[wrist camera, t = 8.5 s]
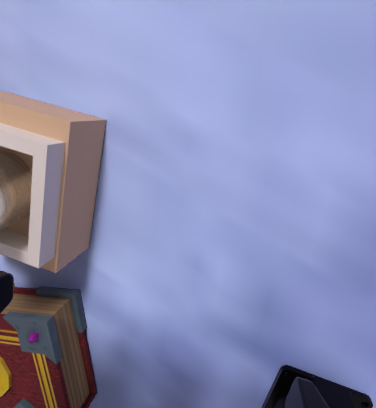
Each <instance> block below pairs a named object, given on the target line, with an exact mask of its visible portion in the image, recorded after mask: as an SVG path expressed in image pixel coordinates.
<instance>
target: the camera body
mask: <svg viewBox="0 0 376 408" xmlns="http://www.w3.org/2000/svg"><path fill="white" fill-rule="evenodd" d="M105 126H106V120H105V119H101V118H97V117H94V116H90V115H87V114H83V113H80V112H76V111H73V110H69V109H65V108H62V107H58V106H55V105H51V104H48V103H44V102H40V101H37V100H33V99H30V98H26V97H23V96H19V95H16V94H12V93H8V92H5V91H0V150H6V151H9V152H12V153H14V154H15V155H17V156H18V157H20V158H21V159H22V160H23V161H24V162H25V163H26V164H27V165H28V167H29V168H30V169H31V171H32V186H31V204H30V216H29V217H28V218H26V219H24V220H22V221H20V222H18V223H15V224H13V225H11V226H9V227H6V228H4V229H2V230H0V254H2V255H4V256H7V257H10V258H12V259H15V260H18V261H20V262H23V263H26V264H28V265H31V266H34V267H36V268H43V269H46V270H48V271H51V272H54V273H57V272H58V271H60V270H61V269H62V268H64V267H65V266H66V265H67V264H69V263H70V262H71V261H72V260H74V259H75V258H76V257H78V256H79V255H80V254H81V253H83V252H84V251H85V250H86V249H88V248H89V242H90V235H91V228H92V221H93V213H94V206H95V199H96V191H97V184H98V177H99V169H100V162H101V155H102V147H103V140H104V133H105Z"/></svg>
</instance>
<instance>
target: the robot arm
mask: <svg viewBox="0 0 376 408" xmlns="http://www.w3.org/2000/svg"><path fill="white" fill-rule="evenodd" d="M13 291H14V278H13V275H11V274H10V273H7V272H4V271H0V313H1V312H2V311H3V310H4V309H5V308H6V307H7V306H8V305H9V304H10V302H11V301H12V299H13ZM286 372H288V373H286ZM372 407H373V404H372V401H371V398H370V397H369V396H368V395H366V394H363V393H361V392H358V391H355V390H353V389H350V388H347V387H345V386H342V385H339V384H337V383H334V382H331V381H329V380H326V379H323V378H321V377H318V376H315V375H313V374H310V373H307V372H305V371H302V370H299V369H297V368H294V367H291V366H288V365H285V366H282V367H281V369H280V371H279V373H278V375H277V377H276V380H275V382H274V384H273V386H272V388H271V390H270V392H269V394H268V397H267V399H266V401H265V403H264V405H263V407H262V408H372Z"/></svg>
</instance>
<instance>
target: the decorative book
mask: <svg viewBox="0 0 376 408" xmlns="http://www.w3.org/2000/svg"><path fill="white" fill-rule="evenodd" d="M86 328H87V326H86V320H85V315H84V309H83V304H82V298H81V293H80V290H75V289H61V288H48V287H40V288H39V289H29V288H18V287H15V285H14V291H13V299H12V301H11V302H10V304H9V305H8V306H7V307H6V308H5V309H4V310H3V311H2V312H1V313H0V408H88V407H89V405H90V404H91V402H92V400H93V398H94V397H95V395H96V393H97V391H96V386H95V381H94V375H93V370H92V365H91V360H90V355H89V350H88V345H87V340H86V334H85V329H86Z"/></svg>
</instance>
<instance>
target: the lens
mask: <svg viewBox="0 0 376 408" xmlns="http://www.w3.org/2000/svg"><path fill="white" fill-rule="evenodd" d="M31 186H32V171H31V169H30V168H29V167H28V165H27V164H26V163H25V162H24V161H23V160H22V159H21V158H20V157H18V156H17V155H15V154H14V153H12V152H9V151H6V150H0V230H2V229H4V228H6V227H9V226H11V225H13V224H15V223H18V222H20V221H22V220H24V219H26V218H28V217H29V216H30V204H31Z"/></svg>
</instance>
